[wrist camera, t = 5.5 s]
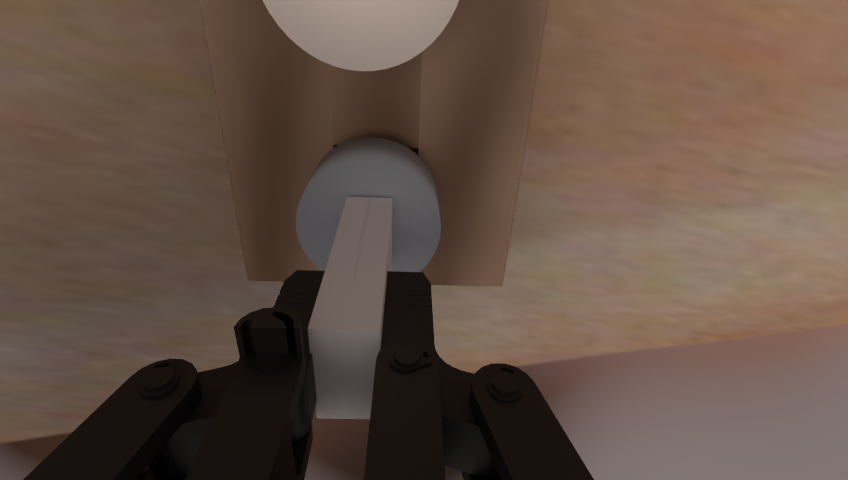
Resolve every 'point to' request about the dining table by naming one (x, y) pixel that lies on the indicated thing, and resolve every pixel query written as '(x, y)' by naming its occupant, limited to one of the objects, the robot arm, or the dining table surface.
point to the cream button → (362, 29)
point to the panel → (379, 127)
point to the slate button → (372, 177)
